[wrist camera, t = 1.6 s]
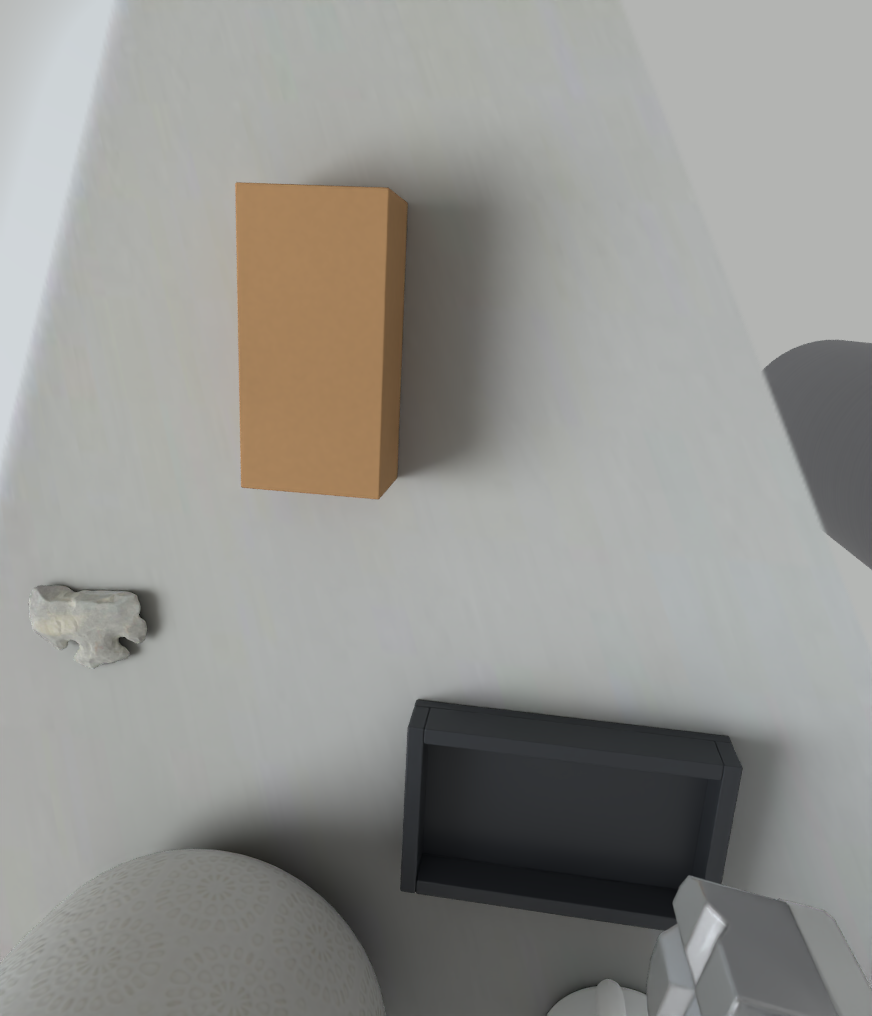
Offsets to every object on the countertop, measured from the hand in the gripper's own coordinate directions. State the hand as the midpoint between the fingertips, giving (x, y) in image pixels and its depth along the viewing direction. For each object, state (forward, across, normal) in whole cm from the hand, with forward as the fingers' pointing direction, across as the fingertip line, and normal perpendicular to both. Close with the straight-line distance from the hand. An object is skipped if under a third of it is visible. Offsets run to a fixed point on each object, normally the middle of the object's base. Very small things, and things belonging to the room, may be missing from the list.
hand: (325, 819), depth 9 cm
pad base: (+26, -9, +17) cm, 32 cm away
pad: (+26, +7, -3) cm, 27 cm away
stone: (+26, +15, +17) cm, 35 cm away
